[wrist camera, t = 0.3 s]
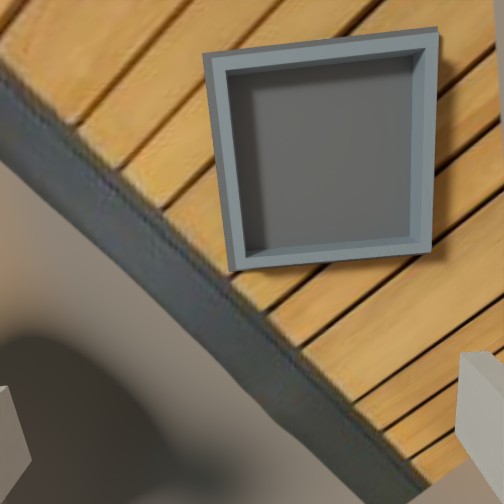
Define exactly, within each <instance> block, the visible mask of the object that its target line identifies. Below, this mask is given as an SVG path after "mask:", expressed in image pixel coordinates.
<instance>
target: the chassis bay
mask: <svg viewBox="0 0 504 504" xmlns="http://www.w3.org/2000/svg"><path fill="white" fill-rule="evenodd" d="M437 28H438V26H436V27H427V28H419V29H410V30H401V31H392V32H384V33H375V34H366V35H358V36H349V37H340V38H332V39H323V40H314V41H306V42H297V43H288V44H280V45H271V46H262V47H254V48H245V49H236V50H228V51H219V52H210V53H202V56H203V64H204V73H205V81H206V89H207V97H208V105H209V113H210V122H211V130H212V138H213V146H214V154H215V162H216V170H217V179H218V187H219V195H220V203H221V211H222V219H223V228H224V236H225V244H226V252H227V260H228V268H229V272H231V271H243V270H254V269H265V268H276V267H288V266H299V265H310V264H322V263H333V262H344V261H356V260H367V259H378V258H390V257H401V256H412V255H424V254H430V252H431V249H432V220H433V191H434V162H435V133H436V104H437V75H438V47H439V32H437Z"/></svg>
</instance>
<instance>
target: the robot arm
mask: <svg viewBox="0 0 504 504" xmlns="http://www.w3.org/2000/svg"><path fill="white" fill-rule="evenodd" d="M455 435H456V436H457V438H458V439H459V441H460V442H461V444H462V445H463V447H464V448H465V449H466V451H467V452H468V454H469V455H470V457H471V458H472V460H473V461H474V463H475V464H476V466H477V467H478V468H479V470H480V472H481V473H482V474H483V476H484V477H485V479H486V480H487V482H488V483H489V485H490V486H491V488H492V489H493V491H494V492H495V494H496V495H497V497H498V498H499V499H500V501H501V502H502V504H504V364H502V363H501V362H500V361H499V360H498V359H497V358H496V357H495V356H494V355H492V354H491V353H490V352H489V351H480V352H466V353H460V366H459V380H458V394H457V409H456V423H455ZM31 461H32V460H31V457H30V453H29V450H28V448H27V444H26V441H25V438H24V435H23V432H22V429H21V426H20V423H19V420H18V416H17V413H16V410H15V407H14V404H13V401H12V398H11V395H10V392H9V389H8V386H0V504H1V503H2V501H3V500H4V498H5V497H6V496H7V494H8V493H9V491H10V490H11V488H12V487H13V486H14V484H15V483H16V482H17V480H18V479H19V477H20V476H21V475H22V473H23V472H24V470H25V469H26V468H27V466H28V465H29V464H30V462H31Z"/></svg>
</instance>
